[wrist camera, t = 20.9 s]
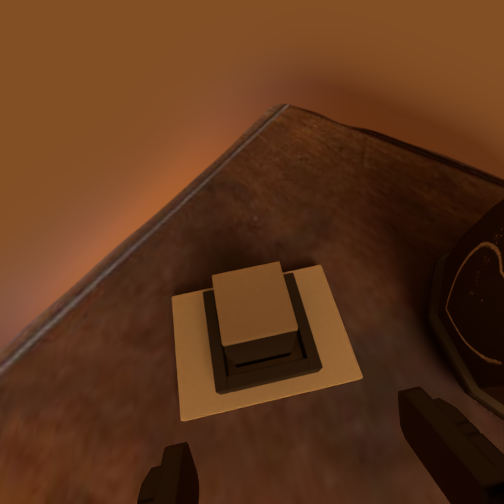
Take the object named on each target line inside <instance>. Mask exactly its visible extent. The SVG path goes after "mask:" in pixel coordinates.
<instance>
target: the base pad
mask: <svg viewBox="0 0 504 504" xmlns="http://www.w3.org/2000/svg"><path fill="white" fill-rule="evenodd" d="M283 276H284V279H285V283H286V286H287V290H288V293H289V297H290V300H291V303H292V307H293V310H294V314H295V317H296V321H297V324H298V330H297V333H296V336H295V340H294V344H293V347H292V351H291V354H290V356H287V357H282V358H278V359H273V360H269V361H265V362H260V363H256V364H251V365H247V366H243V367H238V368H237V367H236V366H235V364H234V363H233V361H232V359H231V358H230V356H229V354H228V353H227V351H226V349H225V348H224V346H223V345H222V341H221V335H220V328H219V321H218V315H217V308H216V302H215V295H214V288H209V289H204V290H200V291H195V292H190V293H186V294H181V295H176V296H172V310H173V323H174V337H175V350H176V363H177V377H178V390H179V404H180V417H181V421H188V420H192V419H196V418H201V417H205V416H209V415H213V414H217V413H222V412H226V411H230V410H234V409H238V408H243V407H247V406H251V405H255V404H259V403H264V402H268V401H272V400H276V399H281V398H285V397H289V396H293V395H297V394H302V393H306V392H310V391H314V390H318V389H323V388H327V387H331V386H335V385H339V384H344V383H348V382H352V381H356V380H359V379H361V378H363V376H362V374H361V371H360V368H359V366H358V363H357V360H356V358H355V355H354V352H353V349H352V347H351V344H350V341H349V339H348V336H347V333H346V331H345V328H344V325H343V323H342V320H341V317H340V314H339V312H338V309H337V306H336V304H335V301H334V298H333V296H332V293H331V290H330V288H329V285H328V282H327V279H326V277H325V274H324V271H323V269H322V266H321V265H317V266H312V267H307V268H302V269H298V270H293V271H288V272H284V273H283Z"/></svg>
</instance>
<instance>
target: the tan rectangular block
mask: <svg viewBox="0 0 504 504" xmlns="http://www.w3.org/2000/svg"><path fill="white" fill-rule="evenodd" d="M212 282H213V288H214V295H215V302H216V308H217V315H218V321H219V328H220V335H221V341H222V345H223V346H224V348H225V349H226V351H227V353H228V354H229V356H230V358H231V359H232V361H233V363H234V364H235V366H236V367H237V368H238V367H243V366H247V365H251V364H256V363H260V362H265V361H269V360H273V359H278V358H282V357H287V356H290V354H291V351H292V347H293V344H294V340H295V336H296V333H297V330H298V324H297V321H296V317H295V314H294V310H293V307H292V303H291V300H290V297H289V293H288V290H287V286H286V283H285V279H284V276H283V272H282V269H281V265H280V262H279V261H278V262H273V263H268V264H263V265H258V266H254V267H249V268H244V269H239V270H235V271H230V272H225V273H220V274H215V275H212Z"/></svg>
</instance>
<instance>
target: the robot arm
mask: <svg viewBox="0 0 504 504" xmlns="http://www.w3.org/2000/svg"><path fill="white" fill-rule="evenodd" d="M398 403H399V416H400V425H401V429H402V432H403V434H404V437H405V438H406V440H407V442H408V443H409V445H410V446H411V448H412V449H413V451H414V452H415V453H416V455H417V456H418V458H419V459H420V461H421V462H422V463H423V465H424V466H425V468H426V469H427V471H428V472H429V473H430V475H431V476H432V478H433V479H434V481H435V482H436V483H437V485H438V486H439V488H440V489H441V491H442V492H443V493H444V495H445V496H446V498H447V499H448V500H449V502H450V503H451V504H504V454H503V453H502V452H500V451H499V450H498V449H497V448H496V447H495V446H494V445H493V444H492V443H491V442H490V441H489V440H488V439H487V438H486V437H485V436H484V435H483V434H482V433H480V432H479V430H478V429H477V428H476V427H475V426H474V425H473V424H472V423H470V422H469V420H468V419H467V418H466V417H465V416H464V415H463V414H462V413H461V412H460V411H459V410H458V409H457V408H456V407H454V406H452V405H451V404H449V403H447V402H445V401H444V400H442V399H440V398H438V399H434V400H433V399H432V398H431V397H430V396H429V395H428V394H427V393H426V392H425V391H424V390H423V389H422V388H421V387H414V388H410V389H406V390H402V391H399V392H398ZM198 502H199V480H198V474H197V471H196V467H195V464H194V461H193V458H192V455H191V452H190V448H189V445H188V443H187V442H184V443H180V444H175V445H171V446H167V447H165V450H164V453H163V458H162V463H161V466H157V467H153V468H151V470H150V471H149V473H148V475H147V476H146V478H145V480H144V481H143V483H142V485H141V489H140V493H139V497H138V501H137V504H198Z"/></svg>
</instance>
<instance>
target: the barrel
mask: <svg viewBox="0 0 504 504" xmlns="http://www.w3.org/2000/svg"><path fill="white" fill-rule="evenodd" d="M426 322H427V324H428V325H429V328H430V330H431V332H432V334H433V336H434V338H435V340H436V341H437V343H438V345H439V347H440V349H441V351H442V353H443V354H444V356H445V358H446V360H447V362H448V364H449V366H450V367H451V369H452V371H453V373H454V375H455V377H456V379H457V380H458V382H459V384H460V386H461V388H463V390H464V392H465V393H466V394H467V395H469V396H470V397H471V398H473V399H474V400H476V401H477V402H478V403H480V404H481V405H483V406H484V407H485V408H487V409H488V410H490V411H491V412H493V413H494V414H495V415H497V416H498V417H500V418H501V419H502V420H504V199H503V200H502V201H501V202H499V203H498V204H497V205H495V206H494V207H493V208H491V209H490V210H489V211H488V212H487V213H486V214H485V215H484V216H483V217H482V218H481V219H480V220H479V221H478V222H477V223H476V224H475V225H474V226H473V227H472V228H471V229H470V230H469V231H468V232H467V233H466V234H465V235H464V236H463V237H462V238H461V239H460V241H459V242H458V243H457V245H456V246H455V247H454V248H453V249H451V250H450V251H448V252H447V253H445V254H443V255H442V256H440V257H439V258H437V259H436V261H435V264H434V269H433V276H432V283H431V289H430V296H429V303H428V310H427V317H426Z"/></svg>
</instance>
